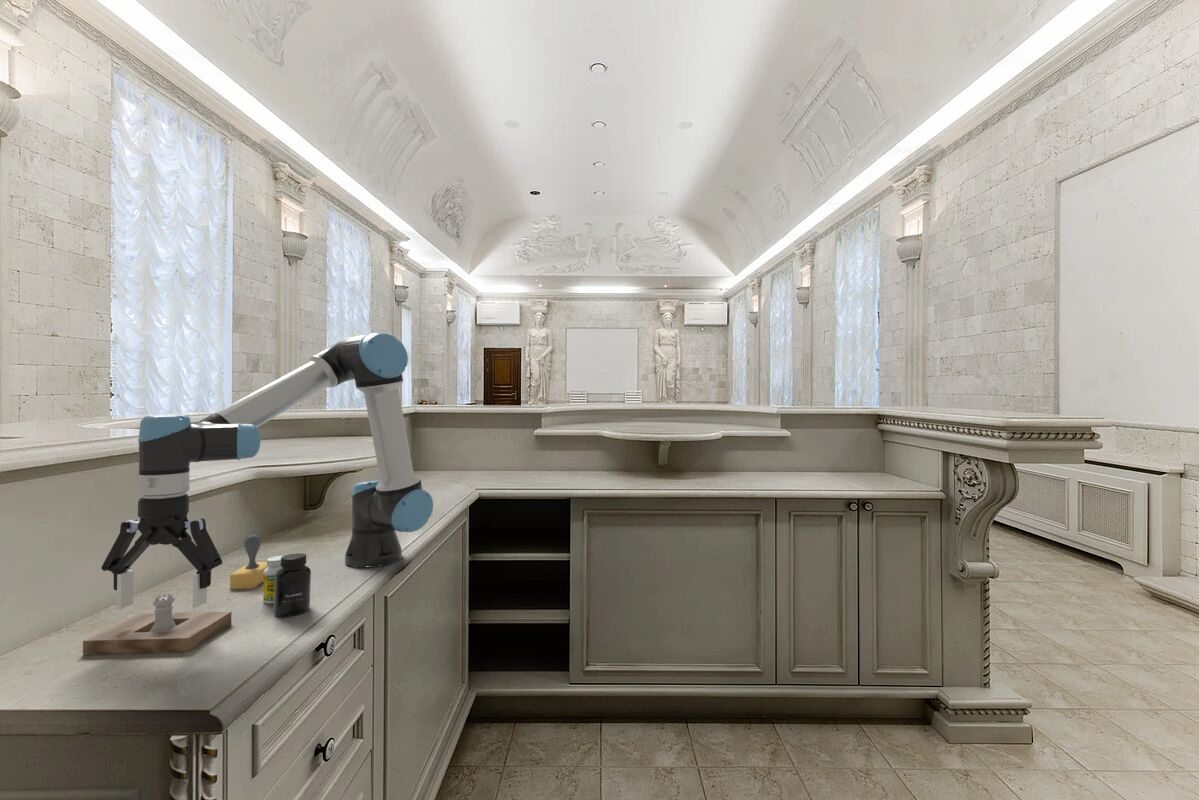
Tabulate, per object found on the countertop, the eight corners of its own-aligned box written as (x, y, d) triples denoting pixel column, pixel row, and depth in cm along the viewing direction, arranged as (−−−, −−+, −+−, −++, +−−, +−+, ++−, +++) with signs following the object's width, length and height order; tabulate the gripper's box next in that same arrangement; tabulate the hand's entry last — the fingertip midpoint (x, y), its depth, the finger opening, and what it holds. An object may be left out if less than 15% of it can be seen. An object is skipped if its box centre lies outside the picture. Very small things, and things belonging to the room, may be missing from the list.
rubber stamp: (249, 576, 134) (249, 530, 134) (273, 575, 135) (273, 529, 136) (229, 589, 125) (229, 540, 125) (255, 588, 126) (256, 539, 126)
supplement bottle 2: (289, 619, 107) (290, 562, 107) (266, 614, 109) (266, 558, 110) (317, 607, 114) (318, 553, 114) (295, 603, 116) (295, 550, 116)
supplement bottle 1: (290, 593, 122) (290, 553, 122) (291, 601, 117) (291, 559, 117) (262, 598, 119) (263, 557, 119) (262, 606, 114) (263, 563, 114)
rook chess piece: (143, 645, 95) (144, 602, 96) (153, 635, 100) (154, 594, 100) (173, 640, 97) (174, 598, 97) (181, 631, 101) (182, 590, 101)
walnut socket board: (231, 623, 105) (231, 611, 105) (188, 651, 93) (188, 638, 93) (138, 626, 104) (138, 613, 104) (82, 654, 92) (82, 640, 92)
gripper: (76, 499, 94) (74, 615, 94) (219, 498, 96) (217, 611, 95) (112, 492, 101) (110, 599, 101) (243, 491, 103) (242, 596, 103)
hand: (162, 605), depth 98 cm, fingers open, 13 cm apart
